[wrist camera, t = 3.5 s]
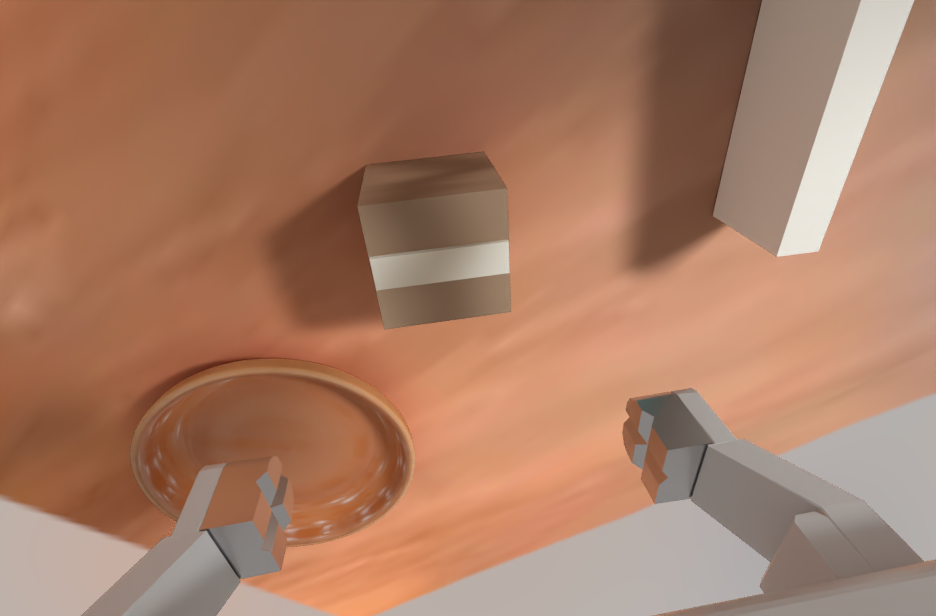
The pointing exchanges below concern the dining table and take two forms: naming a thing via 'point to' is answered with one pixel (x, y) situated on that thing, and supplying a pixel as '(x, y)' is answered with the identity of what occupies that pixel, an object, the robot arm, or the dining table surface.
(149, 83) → the dining table surface
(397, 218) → the cube
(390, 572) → the dining table surface
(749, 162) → the white l-shaped bracket
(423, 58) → the dining table surface
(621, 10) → the dining table surface
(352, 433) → the saucer
